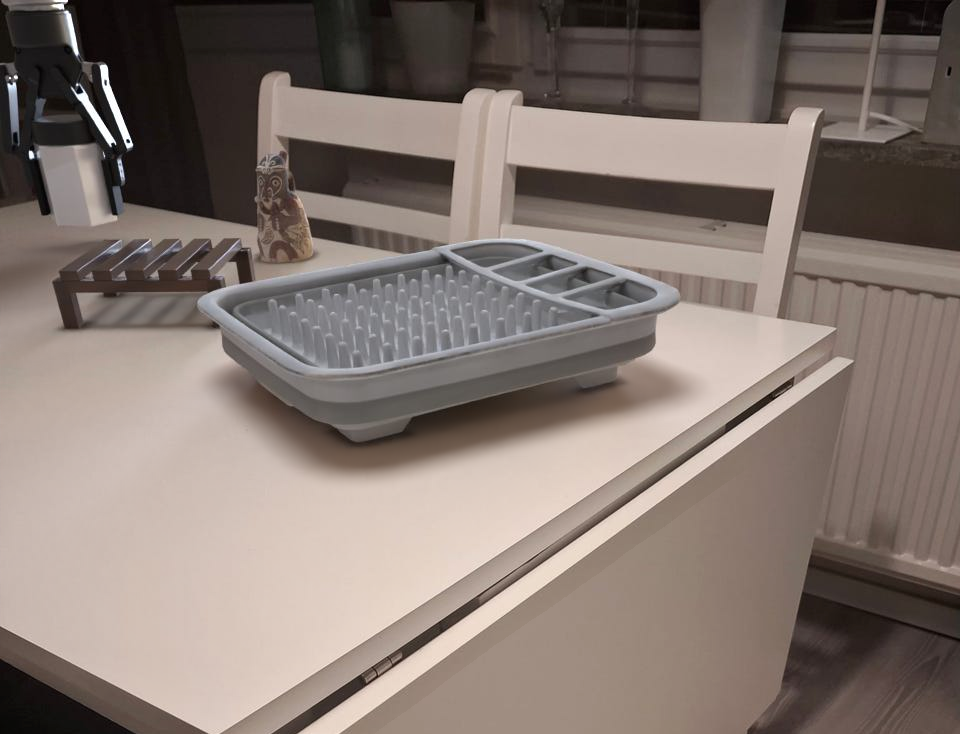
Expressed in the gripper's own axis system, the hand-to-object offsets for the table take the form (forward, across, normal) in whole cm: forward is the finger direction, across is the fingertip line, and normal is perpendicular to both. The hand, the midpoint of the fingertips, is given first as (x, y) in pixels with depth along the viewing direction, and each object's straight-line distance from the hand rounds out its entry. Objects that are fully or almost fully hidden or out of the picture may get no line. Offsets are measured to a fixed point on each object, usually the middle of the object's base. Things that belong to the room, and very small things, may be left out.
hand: (83, 213), depth 135 cm
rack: (+4, -19, +30) cm, 36 cm away
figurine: (+4, -28, +6) cm, 29 cm away
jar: (+1, 0, 0) cm, 1 cm away
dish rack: (+5, -52, +52) cm, 74 cm away
